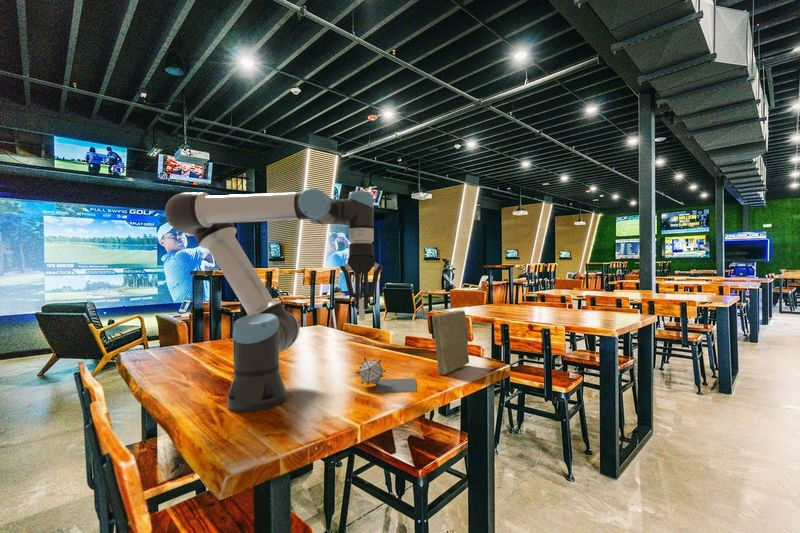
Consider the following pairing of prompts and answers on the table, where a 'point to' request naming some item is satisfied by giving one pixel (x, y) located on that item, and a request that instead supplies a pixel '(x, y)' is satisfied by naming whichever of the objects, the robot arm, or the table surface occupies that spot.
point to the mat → (396, 385)
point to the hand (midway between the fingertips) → (361, 319)
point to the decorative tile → (450, 340)
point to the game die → (371, 371)
